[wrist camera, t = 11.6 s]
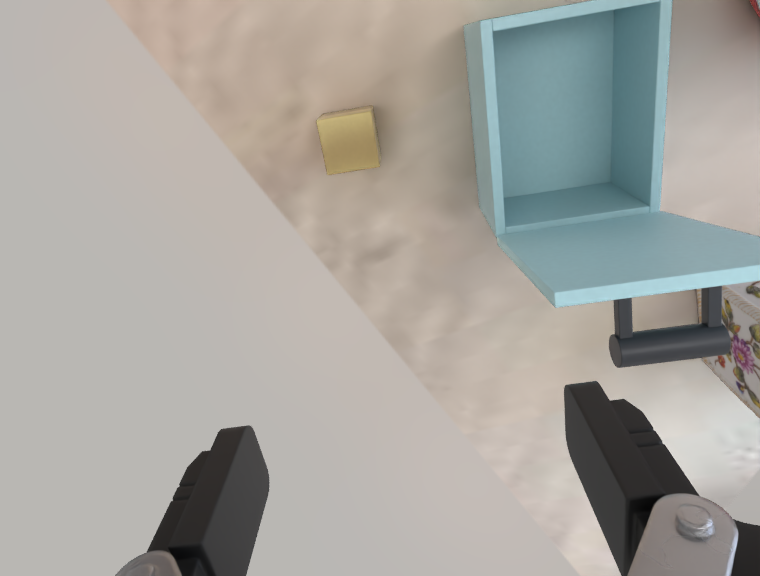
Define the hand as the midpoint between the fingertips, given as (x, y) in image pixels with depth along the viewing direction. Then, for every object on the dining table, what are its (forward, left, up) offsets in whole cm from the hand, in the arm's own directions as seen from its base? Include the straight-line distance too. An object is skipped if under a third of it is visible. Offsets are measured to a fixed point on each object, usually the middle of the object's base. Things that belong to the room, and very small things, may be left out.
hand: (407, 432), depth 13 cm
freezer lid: (+12, +7, -20) cm, 25 cm away
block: (-4, -1, -38) cm, 38 cm away
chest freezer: (+8, +11, -38) cm, 40 cm away
